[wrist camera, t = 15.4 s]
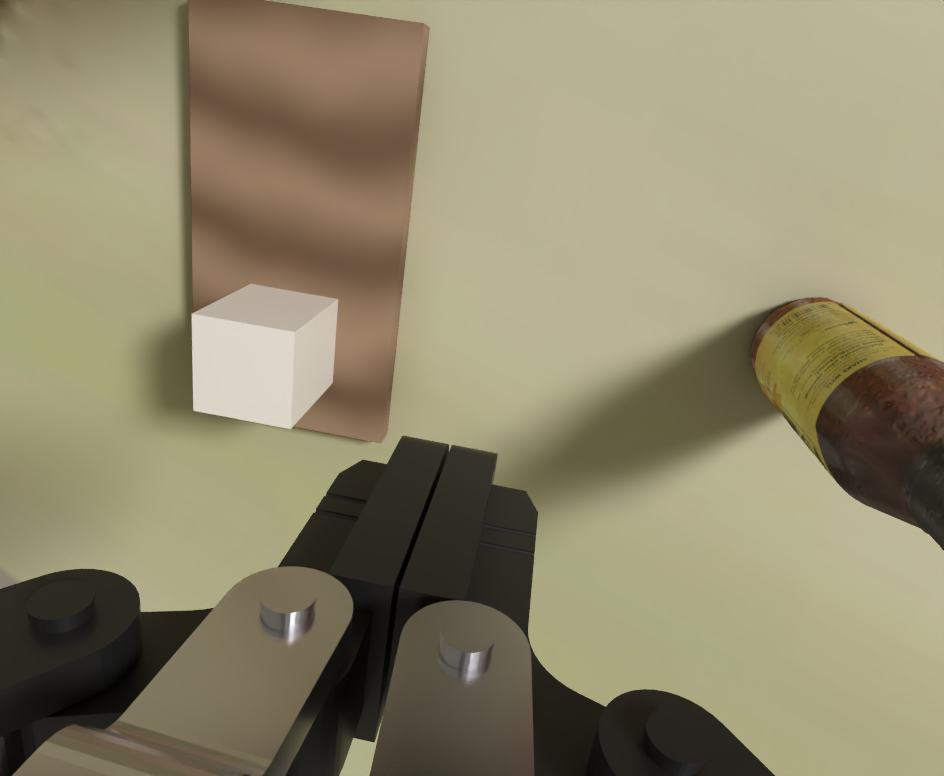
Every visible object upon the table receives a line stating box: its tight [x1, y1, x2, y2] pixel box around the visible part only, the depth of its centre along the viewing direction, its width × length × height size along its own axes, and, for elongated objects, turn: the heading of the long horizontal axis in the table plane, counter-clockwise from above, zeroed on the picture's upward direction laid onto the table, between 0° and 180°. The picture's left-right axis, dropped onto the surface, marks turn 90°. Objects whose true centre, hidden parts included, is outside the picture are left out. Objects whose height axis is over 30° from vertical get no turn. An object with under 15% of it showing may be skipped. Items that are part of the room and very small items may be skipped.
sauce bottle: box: [751, 297, 944, 550], centre depth 29 cm, size 6×6×20 cm
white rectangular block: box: [192, 284, 338, 429], centre depth 37 cm, size 5×5×7 cm
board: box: [188, 0, 429, 443], centre depth 39 cm, size 23×12×2 cm, turn 172°
